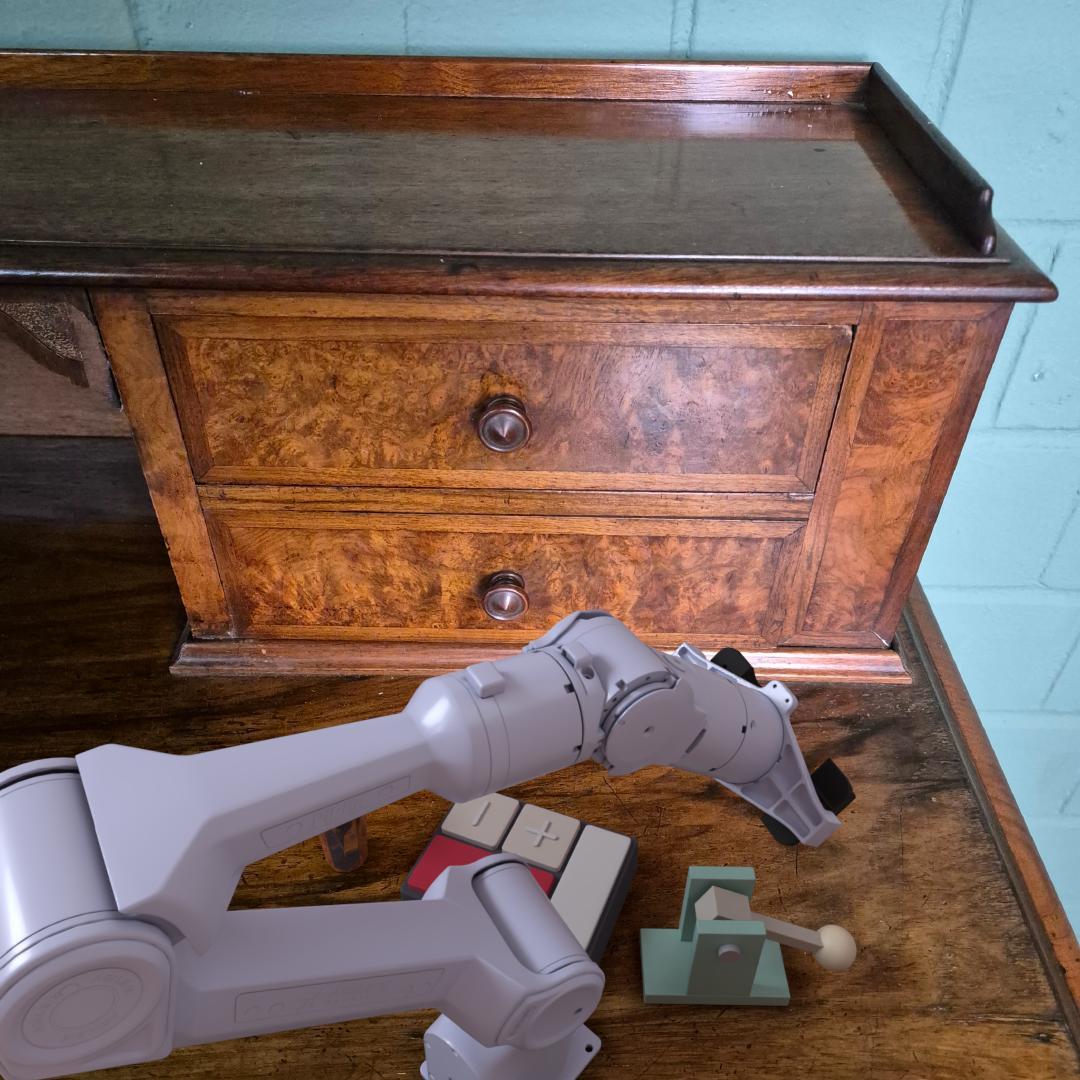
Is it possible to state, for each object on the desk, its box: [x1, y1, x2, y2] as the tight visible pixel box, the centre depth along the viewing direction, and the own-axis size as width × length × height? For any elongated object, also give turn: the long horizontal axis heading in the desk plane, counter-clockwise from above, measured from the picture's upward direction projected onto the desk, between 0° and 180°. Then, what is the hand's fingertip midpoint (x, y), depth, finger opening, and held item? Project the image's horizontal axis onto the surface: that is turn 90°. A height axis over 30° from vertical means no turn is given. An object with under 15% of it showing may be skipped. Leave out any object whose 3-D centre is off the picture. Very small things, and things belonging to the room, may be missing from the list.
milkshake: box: [317, 814, 369, 874], centre depth 72 cm, size 4×5×10 cm
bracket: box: [638, 865, 791, 1007], centre depth 65 cm, size 10×6×9 cm, turn 89°
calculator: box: [399, 792, 639, 967], centre depth 72 cm, size 11×4×15 cm
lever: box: [695, 886, 857, 973], centre depth 65 cm, size 12×3×3 cm, turn 89°
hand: (804, 757), depth 63 cm, fingers open, 7 cm apart
